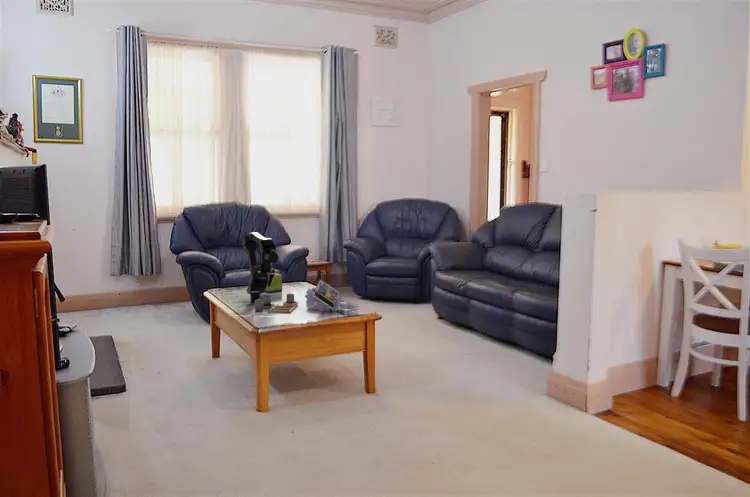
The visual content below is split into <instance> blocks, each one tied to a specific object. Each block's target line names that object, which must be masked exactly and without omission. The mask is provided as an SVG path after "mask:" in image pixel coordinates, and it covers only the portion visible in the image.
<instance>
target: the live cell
mask: <svg viewBox="0 0 750 497" xmlns="http://www.w3.org/2000/svg"><path fill="white" fill-rule="evenodd" d="M262 300H263V306H271V304H272V299H271V295H269V294H266V295H263V297H262Z"/></svg>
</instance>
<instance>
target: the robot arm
mask: <svg viewBox="0 0 750 497" xmlns="http://www.w3.org/2000/svg"><path fill="white" fill-rule="evenodd" d="M241 245H242V248H243V250H244V252H245V253H246V255H247V260H248V266H249V267H248V268H249V272H250V278H249V281H248V285H247V289H246V293H247V294H249V295H250V303H251V304H255V300H258V299H260V300H261V296H260V293H263V292H264V290H266V287H267V284H268V287H270V285H271V283H272V280H273V278H274V276H275V273H277V270H276V268H273V264H275V263H277V262H278V261H279V254H278V253H276V251H277V247H276V245H275V243H274V240H273V239H272V237H271V238H270V237H264V236H263V235H262V234H260V233H259V232H255V231H254V232H252V231H251V232H249V233H248V234H247V235H246V236H245V237H243V239H242V241H241ZM258 247H259V248H260V253H261V254H260V255H261V256H260V258H261V259H260V260H261V262H260V263H259V265H258V262H257V255H256V251H257V248H258ZM273 273H274V274H273Z"/></svg>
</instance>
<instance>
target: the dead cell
mask: <svg viewBox="0 0 750 497" xmlns="http://www.w3.org/2000/svg"><path fill="white" fill-rule="evenodd" d="M285 295H286V301H287V303H294V301H295V294H294V293H291V292H290V293H286V294H285Z"/></svg>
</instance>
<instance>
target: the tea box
mask: <svg viewBox="0 0 750 497" xmlns="http://www.w3.org/2000/svg"><path fill="white" fill-rule="evenodd" d="M273 274H274V273H273ZM282 280H283V274H280V273H277V272H276V273H275V276H274V278H273V280H272V283H271V285H270V287H268V284H267V287H266V290H264V292H263V293H260V297H262V298H263V295H266V294H269V295H271V300H273V299H274V300H275V299H280V298H283V281H282Z"/></svg>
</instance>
